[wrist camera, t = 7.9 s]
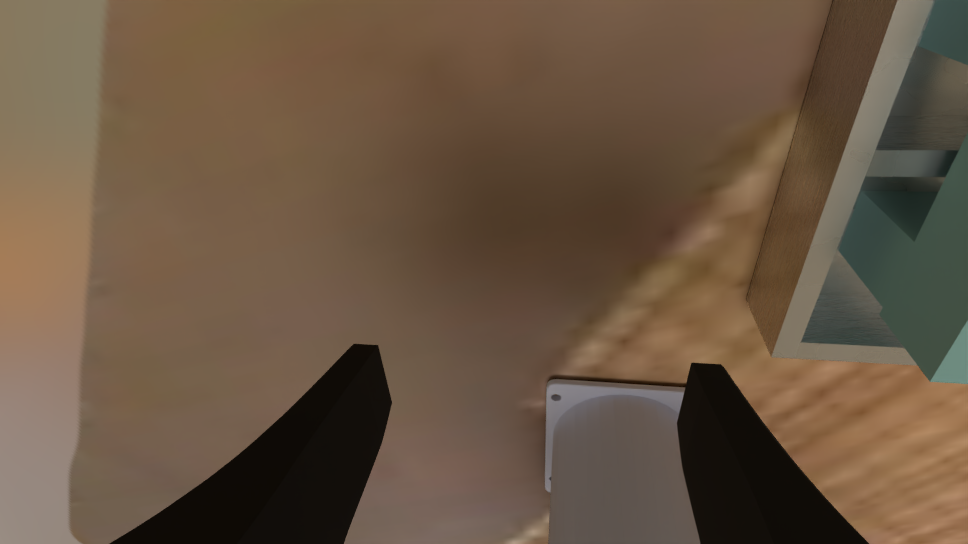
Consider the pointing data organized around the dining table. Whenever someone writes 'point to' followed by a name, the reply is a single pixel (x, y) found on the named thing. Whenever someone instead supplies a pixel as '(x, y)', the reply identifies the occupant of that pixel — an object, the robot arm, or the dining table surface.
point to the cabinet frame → (854, 176)
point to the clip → (922, 241)
